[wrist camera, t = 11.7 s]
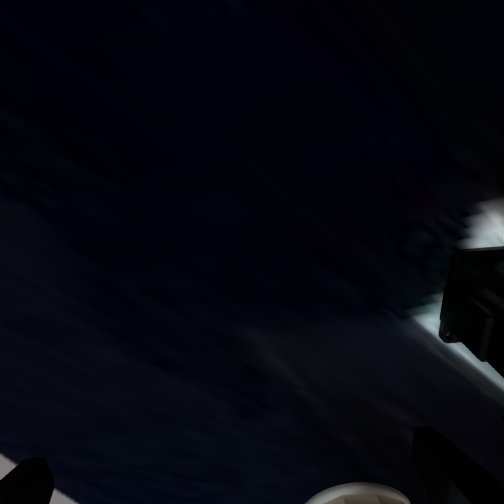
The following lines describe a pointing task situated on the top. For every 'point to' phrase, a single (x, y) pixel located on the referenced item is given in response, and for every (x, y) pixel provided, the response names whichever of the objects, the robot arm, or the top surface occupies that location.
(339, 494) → the rimmed bowl
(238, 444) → the top surface
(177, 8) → the top surface
